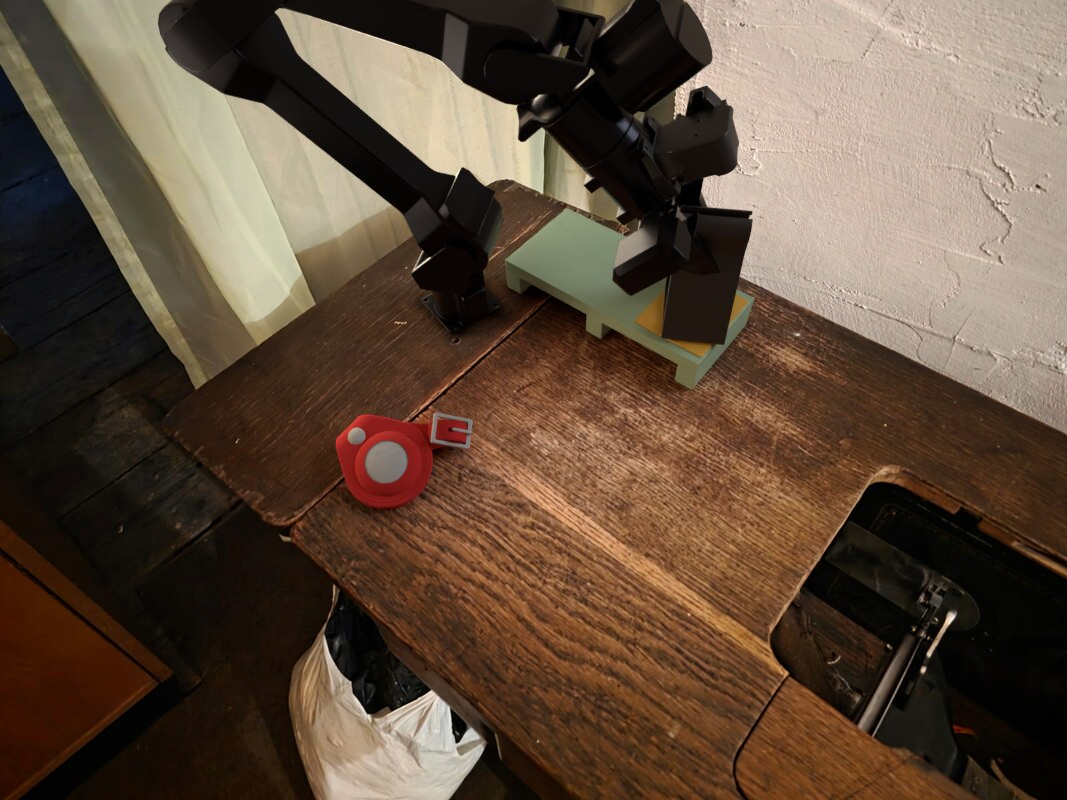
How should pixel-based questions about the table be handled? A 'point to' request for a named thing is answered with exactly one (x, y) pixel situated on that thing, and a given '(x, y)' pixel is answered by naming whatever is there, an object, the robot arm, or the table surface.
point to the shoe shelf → (610, 291)
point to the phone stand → (708, 279)
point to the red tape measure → (395, 456)
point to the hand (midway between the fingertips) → (718, 262)
